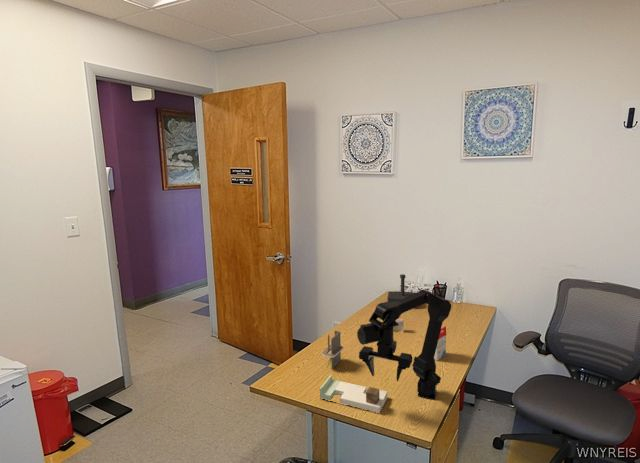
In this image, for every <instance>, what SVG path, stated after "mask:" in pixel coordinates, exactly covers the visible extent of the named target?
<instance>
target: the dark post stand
mask: <svg viewBox="0 0 640 463" xmlns="http://www.w3.org/2000/svg"><path fill="white" fill-rule="evenodd" d="M399 278H400V291H399V290H398V291H396V290H395V291H390V290H389V291H388V293H387V298H386V299H387V301H386V302H394V301H398V300H400V299H403V298H405V297H407V296H410V295H412V294H415V293H416V292H412V291H405V282H406V281H405V279H406V274H400V275H399ZM418 308H419V306H418V307H416V308H413V309H418Z"/></svg>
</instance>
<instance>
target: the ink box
mask: <svg viewBox="0 0 640 463" xmlns="http://www.w3.org/2000/svg"><path fill="white" fill-rule="evenodd" d="M446 349H447V325H445V326H443V327H441V331H440V335H439V339H438V343H437V347H436V352H435V356H434V359H435V362H436V361H439V360H441V359H442V358H444V357H445V356H446V353H447V352H446V351H447V350H446Z"/></svg>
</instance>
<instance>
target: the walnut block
mask: <svg viewBox="0 0 640 463" xmlns="http://www.w3.org/2000/svg"><path fill="white" fill-rule="evenodd" d="M379 390H380V388H376V387H371V386H368V389H366V402H367V403H371V404H375V405H377V403H378V401H379Z"/></svg>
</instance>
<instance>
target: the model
mask: <svg viewBox="0 0 640 463" xmlns="http://www.w3.org/2000/svg"><path fill="white" fill-rule="evenodd" d="M395 321H396V322H397V323H398V324H399V325H398V326H394V327H393V331H396V332H397V333H399V332H400V331H402V333H403V332H404V327H405V325H404V324H405V321H404V319H403V318H400V317H399V318H398V319H397V320H395ZM398 330H399V331H398Z"/></svg>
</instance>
